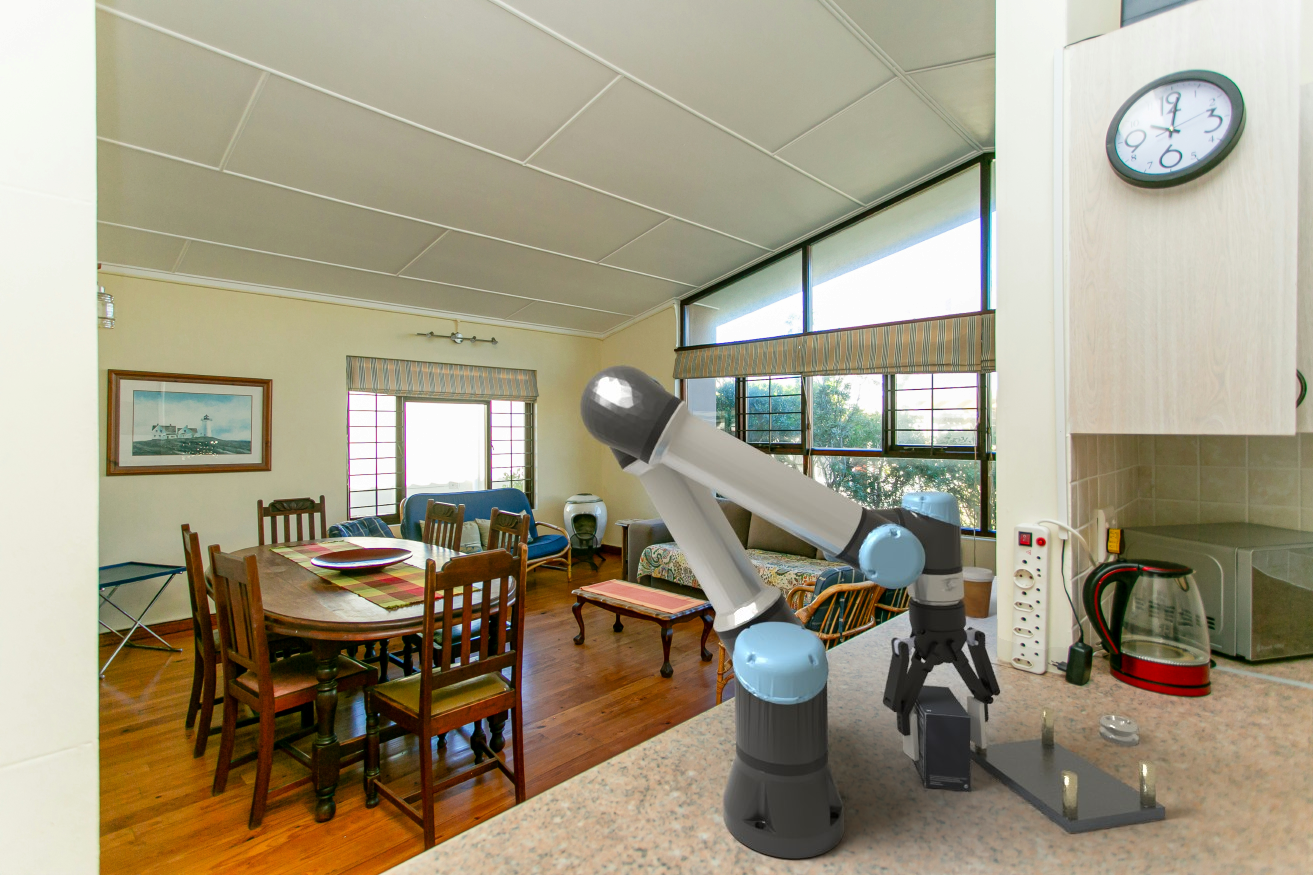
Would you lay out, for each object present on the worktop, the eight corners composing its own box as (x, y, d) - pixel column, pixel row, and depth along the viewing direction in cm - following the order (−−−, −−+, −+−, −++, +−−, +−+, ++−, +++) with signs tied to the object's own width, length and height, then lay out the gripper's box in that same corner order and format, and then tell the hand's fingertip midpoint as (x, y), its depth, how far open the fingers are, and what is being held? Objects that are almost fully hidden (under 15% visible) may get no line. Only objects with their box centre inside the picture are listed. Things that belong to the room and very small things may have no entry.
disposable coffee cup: (1002, 616, 161) (1002, 571, 161) (981, 622, 156) (980, 575, 156) (968, 607, 169) (968, 564, 169) (947, 613, 164) (947, 569, 164)
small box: (974, 793, 82) (973, 716, 82) (924, 789, 83) (922, 713, 83) (951, 753, 93) (950, 684, 93) (906, 749, 94) (905, 682, 94)
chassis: (1070, 833, 74) (1069, 780, 74) (968, 757, 91) (967, 714, 91) (1165, 818, 76) (1164, 767, 76) (1048, 746, 94) (1047, 705, 94)
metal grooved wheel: (1093, 737, 97) (1131, 750, 93) (1093, 718, 97) (1131, 730, 93) (1106, 728, 100) (1144, 740, 95) (1106, 710, 100) (1143, 721, 95)
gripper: (878, 614, 82) (888, 776, 82) (1023, 596, 86) (1032, 750, 87) (851, 600, 90) (860, 748, 90) (985, 583, 94) (994, 725, 94)
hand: (944, 749), depth 88 cm, fingers open, 10 cm apart
